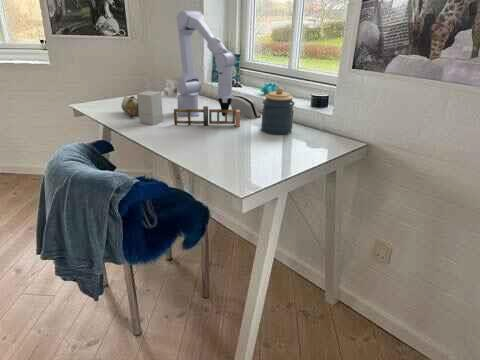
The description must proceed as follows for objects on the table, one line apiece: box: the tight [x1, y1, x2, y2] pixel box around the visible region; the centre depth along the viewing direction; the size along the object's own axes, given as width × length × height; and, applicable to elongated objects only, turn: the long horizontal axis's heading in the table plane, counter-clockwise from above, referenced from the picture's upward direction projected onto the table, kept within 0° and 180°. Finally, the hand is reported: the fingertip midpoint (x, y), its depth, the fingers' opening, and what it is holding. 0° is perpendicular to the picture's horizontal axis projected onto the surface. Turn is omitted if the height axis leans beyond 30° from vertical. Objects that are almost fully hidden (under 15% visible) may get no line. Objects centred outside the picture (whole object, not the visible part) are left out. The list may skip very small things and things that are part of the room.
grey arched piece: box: [230, 94, 262, 119], centre depth 168 cm, size 17×5×10 cm, turn 38°
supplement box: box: [136, 90, 164, 126], centre depth 151 cm, size 7×7×13 cm
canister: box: [260, 87, 296, 136], centre depth 145 cm, size 13×13×18 cm
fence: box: [173, 108, 204, 126], centre depth 150 cm, size 12×1×7 cm, turn 94°
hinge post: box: [202, 105, 209, 127], centre depth 150 cm, size 2×2×8 cm
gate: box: [208, 108, 236, 125], centre depth 151 cm, size 11×1×6 cm, turn 95°
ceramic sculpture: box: [121, 95, 139, 118], centre depth 162 cm, size 11×9×15 cm
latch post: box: [235, 110, 241, 128], centre depth 152 cm, size 2×4×6 cm, turn 4°
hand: (224, 115), depth 152 cm, fingers closed
